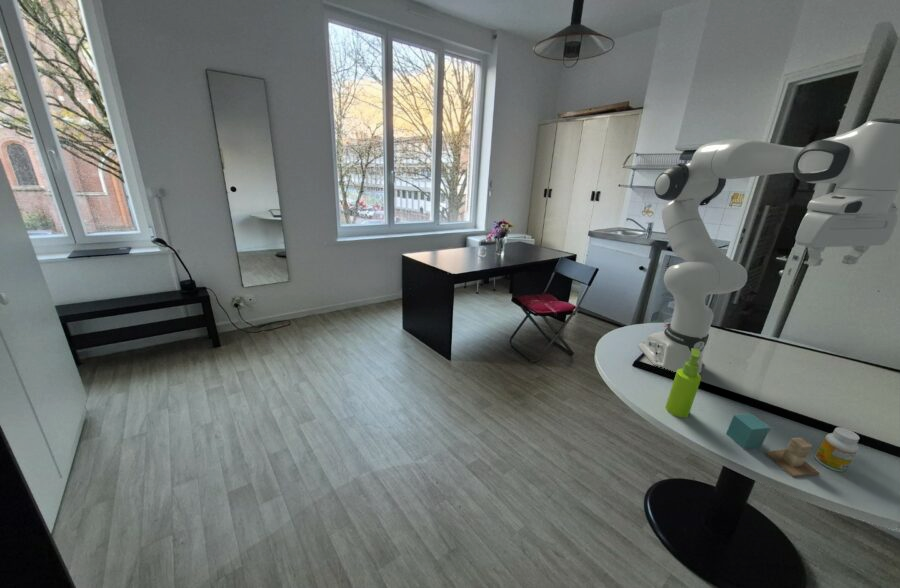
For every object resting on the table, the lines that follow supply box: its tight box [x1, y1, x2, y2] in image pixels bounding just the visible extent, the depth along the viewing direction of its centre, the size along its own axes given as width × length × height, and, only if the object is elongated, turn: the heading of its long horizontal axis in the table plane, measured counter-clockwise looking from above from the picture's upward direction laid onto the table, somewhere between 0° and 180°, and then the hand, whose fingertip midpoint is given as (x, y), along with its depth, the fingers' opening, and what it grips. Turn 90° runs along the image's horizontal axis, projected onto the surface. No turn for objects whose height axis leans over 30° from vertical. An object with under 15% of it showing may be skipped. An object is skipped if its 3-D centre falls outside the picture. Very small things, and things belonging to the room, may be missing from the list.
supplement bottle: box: [814, 426, 860, 472], centre depth 83 cm, size 5×5×10 cm
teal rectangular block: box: [725, 413, 771, 450], centre depth 90 cm, size 5×5×7 cm
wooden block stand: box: [764, 437, 820, 478], centre depth 83 cm, size 7×7×7 cm
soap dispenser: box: [665, 348, 702, 419], centre depth 98 cm, size 6×7×20 cm
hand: (830, 264), depth 78 cm, fingers open, 8 cm apart
